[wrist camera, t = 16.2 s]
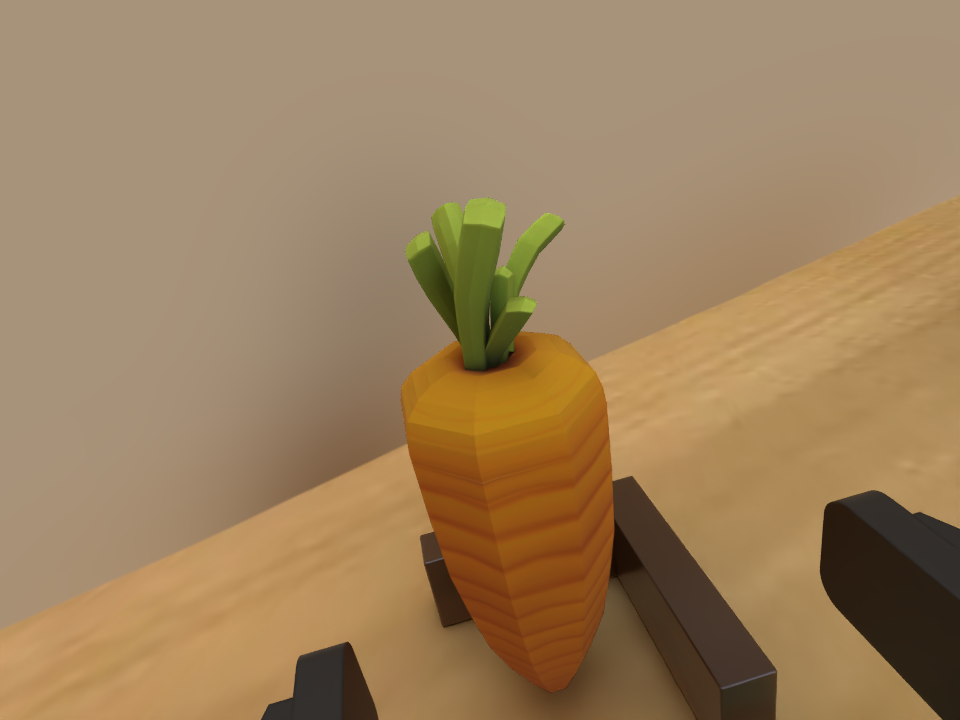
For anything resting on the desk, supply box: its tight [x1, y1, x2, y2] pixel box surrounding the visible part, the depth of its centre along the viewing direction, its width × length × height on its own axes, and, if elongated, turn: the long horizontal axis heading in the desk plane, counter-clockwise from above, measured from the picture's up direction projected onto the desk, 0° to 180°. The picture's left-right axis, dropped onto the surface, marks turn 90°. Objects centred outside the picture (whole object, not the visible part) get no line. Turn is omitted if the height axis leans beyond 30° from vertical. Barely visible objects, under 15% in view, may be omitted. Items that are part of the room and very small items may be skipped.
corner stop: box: [420, 476, 777, 720], centre depth 19 cm, size 8×8×3 cm
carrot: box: [401, 197, 614, 692], centre depth 15 cm, size 5×5×15 cm
